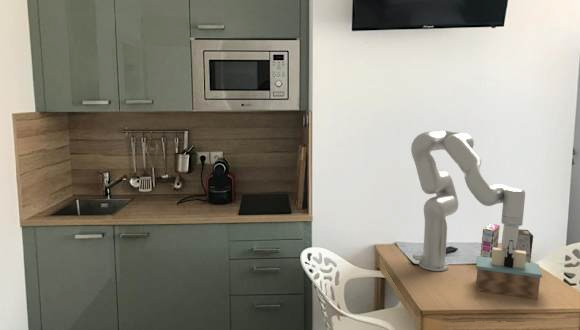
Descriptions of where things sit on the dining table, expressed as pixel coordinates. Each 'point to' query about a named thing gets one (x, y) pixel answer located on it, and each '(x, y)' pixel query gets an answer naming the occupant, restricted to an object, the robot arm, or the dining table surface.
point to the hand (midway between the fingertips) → (508, 264)
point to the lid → (518, 267)
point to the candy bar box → (489, 239)
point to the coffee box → (525, 243)
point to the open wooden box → (507, 284)
